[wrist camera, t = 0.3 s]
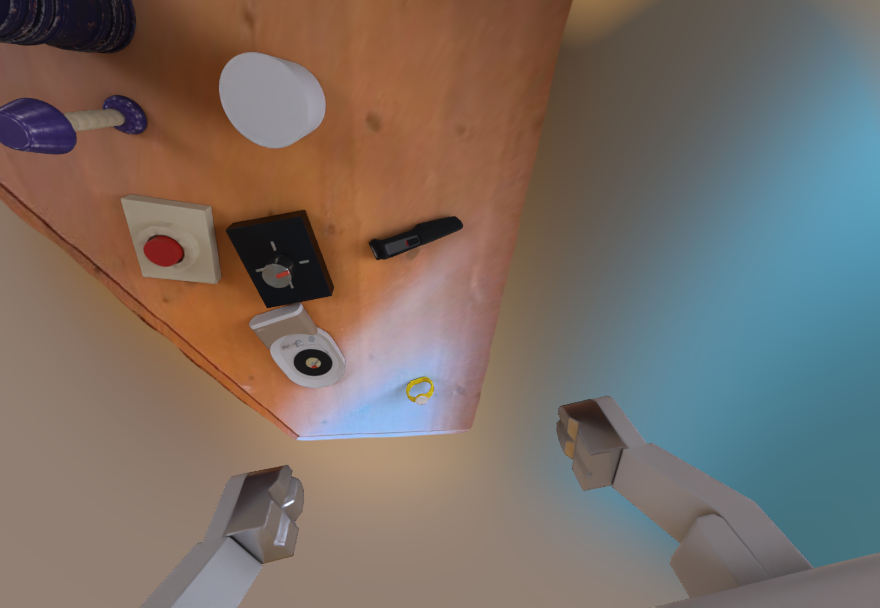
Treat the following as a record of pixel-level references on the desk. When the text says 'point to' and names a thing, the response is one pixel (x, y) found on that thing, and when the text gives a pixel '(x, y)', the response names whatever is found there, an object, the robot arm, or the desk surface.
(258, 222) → the control panel
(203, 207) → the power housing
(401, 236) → the electric trimmer
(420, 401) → the watch
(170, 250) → the power button
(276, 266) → the dial
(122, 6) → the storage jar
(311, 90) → the white round cylinder
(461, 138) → the desk surface
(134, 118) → the toy lamp
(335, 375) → the record player
